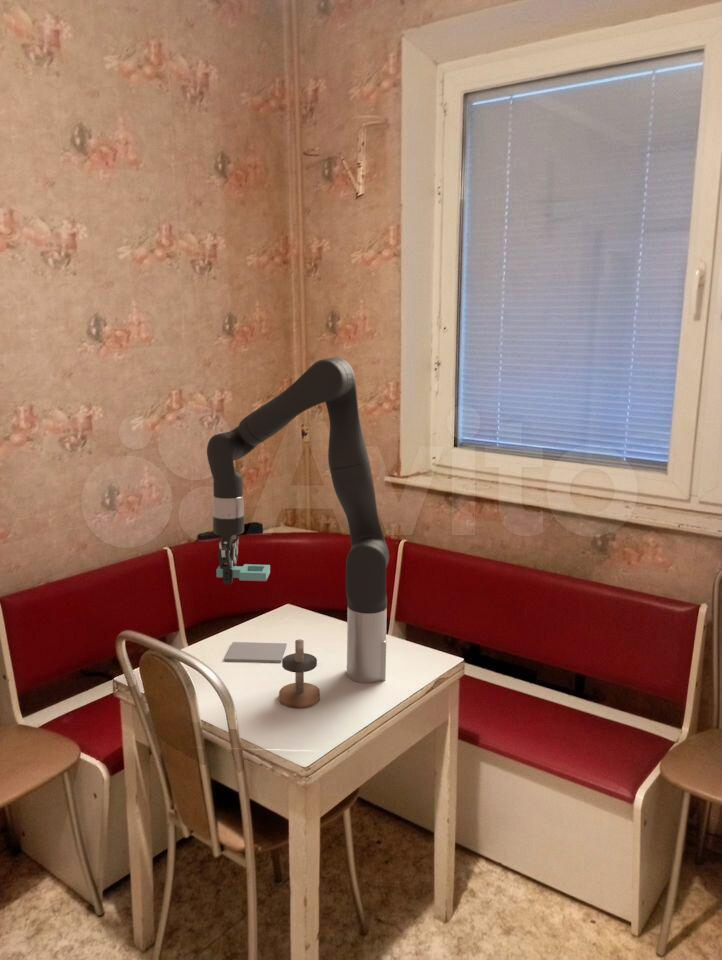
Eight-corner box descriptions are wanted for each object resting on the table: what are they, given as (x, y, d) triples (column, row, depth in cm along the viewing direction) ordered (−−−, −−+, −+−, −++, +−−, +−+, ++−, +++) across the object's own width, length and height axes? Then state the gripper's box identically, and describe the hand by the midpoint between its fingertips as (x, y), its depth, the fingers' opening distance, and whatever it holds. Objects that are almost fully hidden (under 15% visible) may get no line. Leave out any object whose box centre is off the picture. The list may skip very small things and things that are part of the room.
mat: (286, 645, 184) (286, 643, 184) (281, 662, 174) (281, 660, 174) (233, 644, 184) (232, 641, 184) (224, 661, 174) (224, 658, 174)
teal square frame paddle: (270, 572, 178) (270, 564, 178) (266, 581, 172) (265, 573, 171) (220, 571, 178) (220, 563, 178) (214, 579, 172) (214, 571, 172)
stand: (321, 689, 161) (321, 633, 158) (318, 709, 152) (318, 650, 150) (282, 688, 161) (281, 632, 159) (276, 707, 152) (275, 649, 150)
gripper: (238, 521, 165) (238, 591, 169) (249, 507, 179) (249, 572, 182) (206, 520, 165) (207, 590, 169) (219, 506, 179) (220, 571, 182)
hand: (229, 580), depth 175 cm, fingers closed on teal square frame paddle, 3 cm apart
